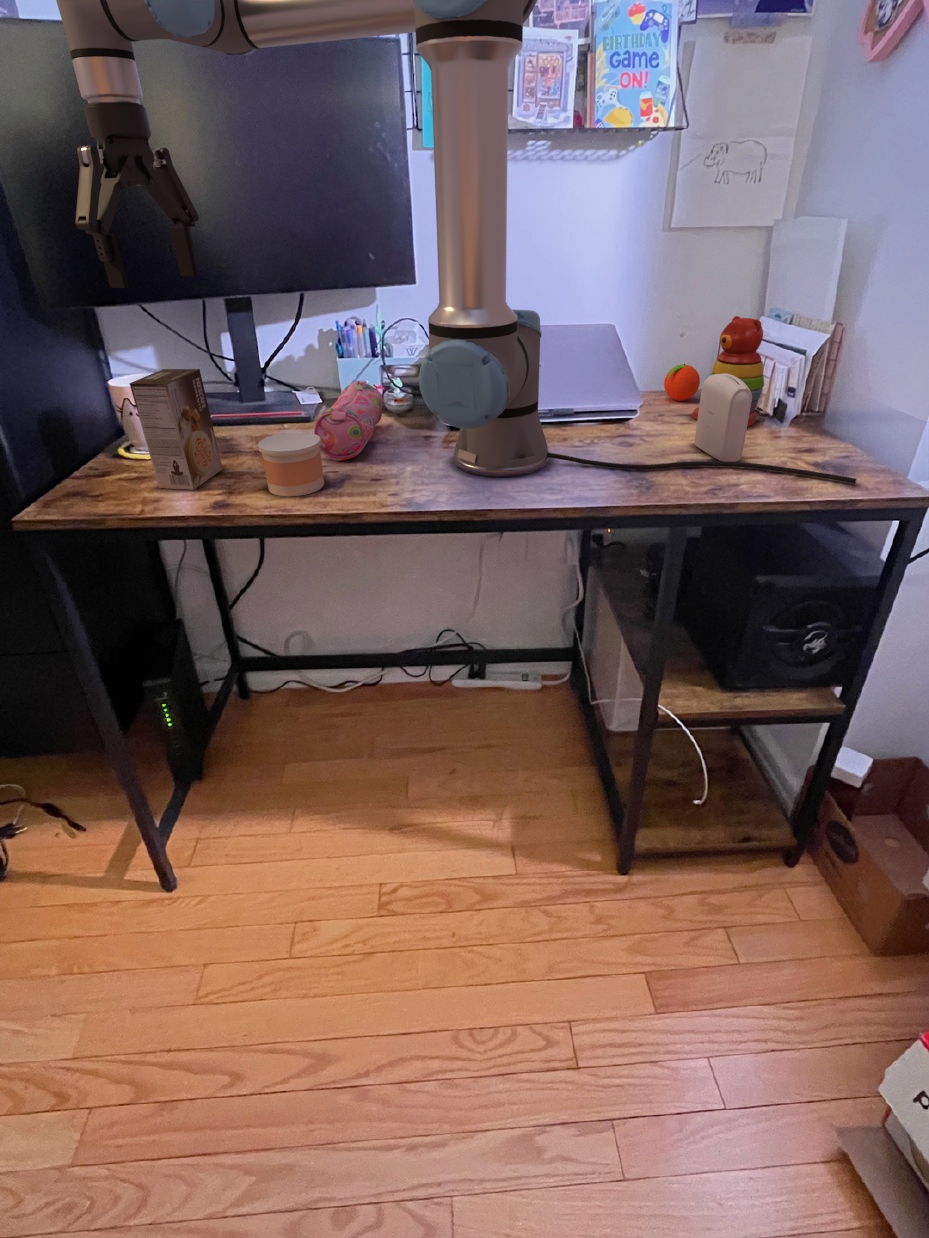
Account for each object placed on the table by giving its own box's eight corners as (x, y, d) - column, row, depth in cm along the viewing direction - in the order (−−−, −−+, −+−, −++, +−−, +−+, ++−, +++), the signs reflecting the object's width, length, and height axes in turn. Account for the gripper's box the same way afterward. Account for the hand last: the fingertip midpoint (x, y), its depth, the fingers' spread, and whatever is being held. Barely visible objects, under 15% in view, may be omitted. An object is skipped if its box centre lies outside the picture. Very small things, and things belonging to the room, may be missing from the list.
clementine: (677, 407, 138) (682, 370, 134) (651, 400, 143) (655, 364, 139) (704, 400, 142) (710, 364, 138) (678, 394, 147) (682, 358, 143)
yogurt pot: (337, 478, 110) (331, 434, 106) (307, 500, 103) (300, 454, 99) (286, 473, 113) (279, 429, 109) (253, 493, 105) (244, 448, 102)
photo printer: (689, 444, 119) (700, 369, 113) (713, 442, 120) (725, 367, 113) (719, 464, 111) (733, 384, 104) (744, 462, 111) (759, 382, 105)
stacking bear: (687, 416, 133) (701, 315, 124) (732, 410, 136) (750, 311, 126) (721, 432, 124) (739, 325, 115) (769, 425, 127) (791, 320, 117)
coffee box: (188, 468, 116) (163, 367, 107) (223, 470, 115) (201, 368, 106) (157, 488, 108) (127, 382, 100) (194, 490, 107) (168, 383, 99)
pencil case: (341, 425, 134) (335, 377, 129) (388, 425, 133) (384, 376, 129) (313, 464, 116) (305, 409, 111) (368, 463, 115) (362, 408, 111)
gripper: (162, 110, 103) (196, 271, 114) (7, 97, 84) (66, 292, 95) (202, 107, 100) (232, 272, 111) (51, 92, 81) (106, 294, 92)
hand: (156, 282), depth 103 cm, fingers open, 13 cm apart
